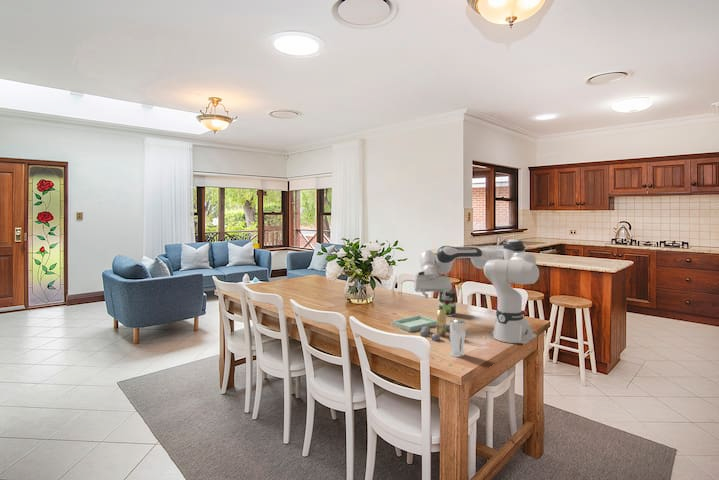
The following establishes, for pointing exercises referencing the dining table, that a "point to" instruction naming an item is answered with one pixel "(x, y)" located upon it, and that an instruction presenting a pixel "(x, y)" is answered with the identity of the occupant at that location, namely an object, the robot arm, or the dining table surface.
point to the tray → (414, 323)
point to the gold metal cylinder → (441, 322)
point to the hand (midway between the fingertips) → (435, 297)
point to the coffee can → (448, 302)
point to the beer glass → (457, 337)
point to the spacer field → (435, 336)
